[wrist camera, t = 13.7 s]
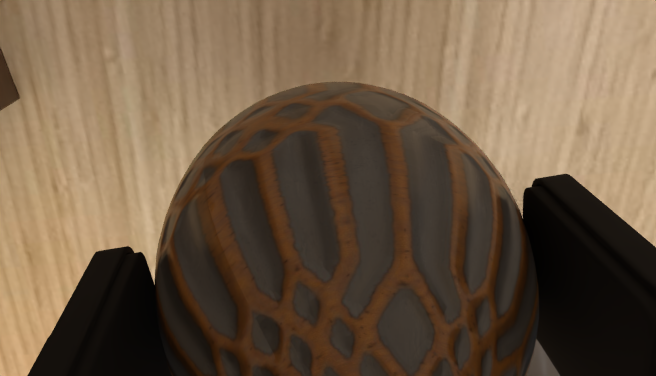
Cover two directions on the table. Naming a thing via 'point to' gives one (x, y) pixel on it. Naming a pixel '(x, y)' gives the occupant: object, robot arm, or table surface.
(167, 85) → the table surface
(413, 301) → the vase
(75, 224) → the table surface
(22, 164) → the table surface
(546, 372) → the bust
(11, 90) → the brown box
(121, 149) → the table surface
